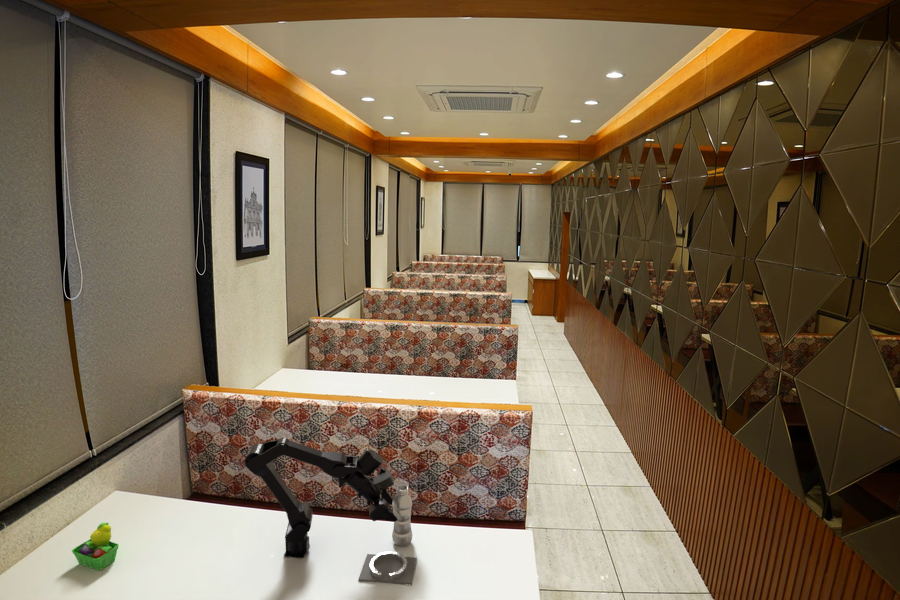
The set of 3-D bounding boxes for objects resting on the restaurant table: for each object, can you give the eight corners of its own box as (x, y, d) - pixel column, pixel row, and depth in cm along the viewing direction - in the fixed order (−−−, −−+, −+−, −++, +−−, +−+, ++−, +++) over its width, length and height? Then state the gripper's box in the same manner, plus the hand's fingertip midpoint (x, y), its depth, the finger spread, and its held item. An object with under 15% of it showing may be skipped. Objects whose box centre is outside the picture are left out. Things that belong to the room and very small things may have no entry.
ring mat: (358, 580, 158) (358, 579, 158) (367, 555, 170) (367, 553, 170) (411, 584, 157) (411, 583, 157) (416, 559, 169) (416, 557, 169)
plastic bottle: (409, 550, 173) (409, 494, 169) (389, 547, 174) (389, 491, 171) (414, 538, 179) (415, 483, 176) (395, 535, 180) (395, 481, 177)
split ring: (366, 579, 158) (366, 574, 158) (374, 554, 169) (374, 550, 169) (403, 582, 158) (403, 577, 157) (409, 557, 169) (409, 552, 168)
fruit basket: (71, 565, 162) (67, 532, 160) (99, 548, 171) (95, 516, 169) (98, 575, 159) (94, 541, 157) (125, 557, 167) (122, 524, 165)
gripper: (379, 481, 161) (416, 511, 165) (377, 452, 179) (410, 480, 183) (354, 506, 161) (390, 536, 165) (354, 475, 179) (387, 503, 183)
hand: (395, 512), depth 174 cm, fingers open, 9 cm apart
